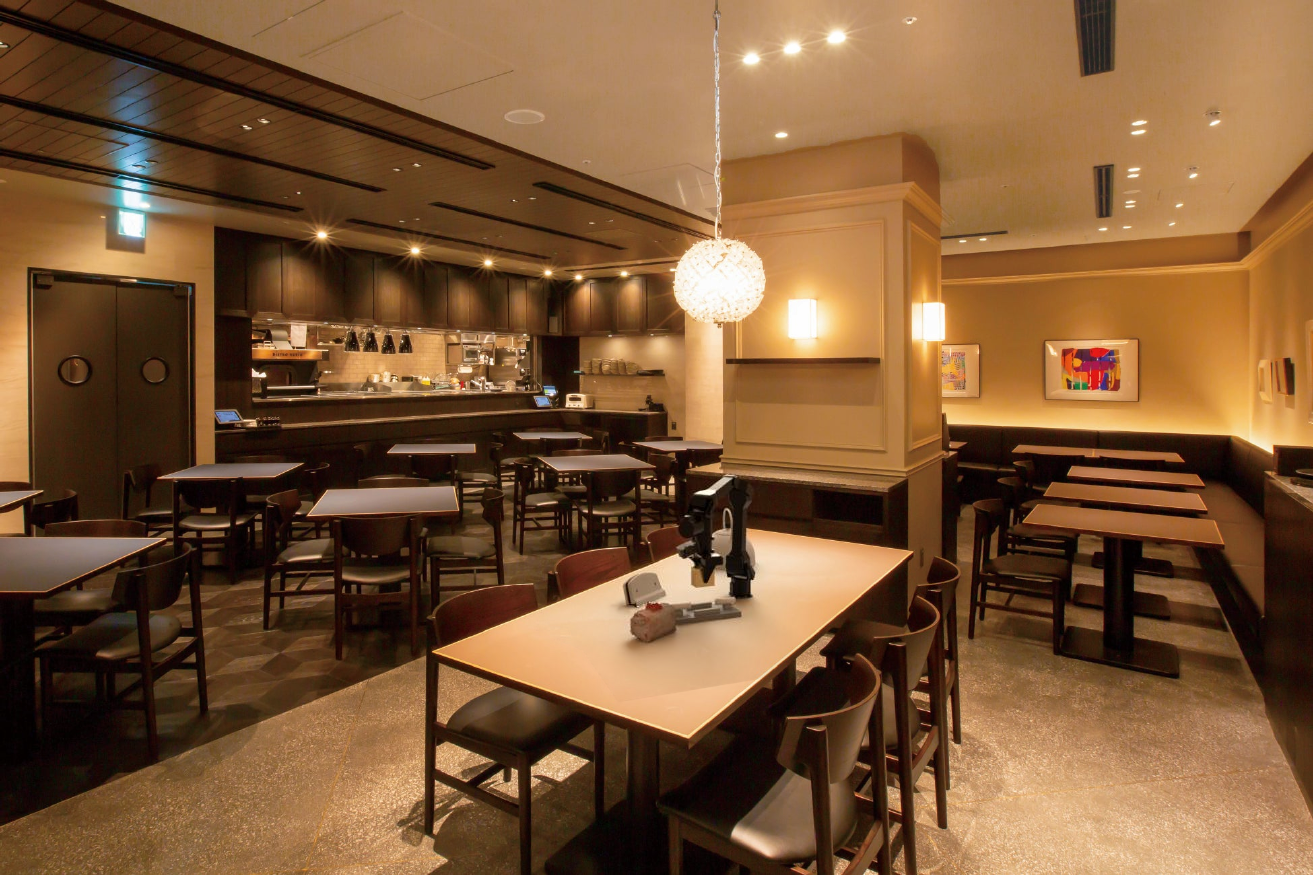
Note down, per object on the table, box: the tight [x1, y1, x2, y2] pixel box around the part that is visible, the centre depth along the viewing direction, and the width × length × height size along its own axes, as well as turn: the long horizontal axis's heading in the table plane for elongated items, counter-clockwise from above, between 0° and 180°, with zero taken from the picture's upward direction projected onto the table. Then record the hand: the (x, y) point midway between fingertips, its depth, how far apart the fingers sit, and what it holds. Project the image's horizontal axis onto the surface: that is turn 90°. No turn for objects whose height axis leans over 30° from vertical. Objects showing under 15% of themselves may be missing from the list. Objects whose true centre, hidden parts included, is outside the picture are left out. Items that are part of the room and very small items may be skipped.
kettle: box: [711, 507, 756, 570], centre depth 291 cm, size 25×23×22 cm
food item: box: [629, 602, 677, 643], centre depth 206 cm, size 14×8×10 cm, turn 139°
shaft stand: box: [669, 596, 742, 625], centre depth 224 cm, size 22×10×5 cm, turn 110°
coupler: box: [690, 565, 716, 589], centre depth 223 cm, size 6×4×6 cm, turn 110°
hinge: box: [622, 572, 667, 607], centre depth 241 cm, size 17×5×10 cm, turn 143°
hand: (702, 581), depth 223 cm, fingers closed on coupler, 4 cm apart
